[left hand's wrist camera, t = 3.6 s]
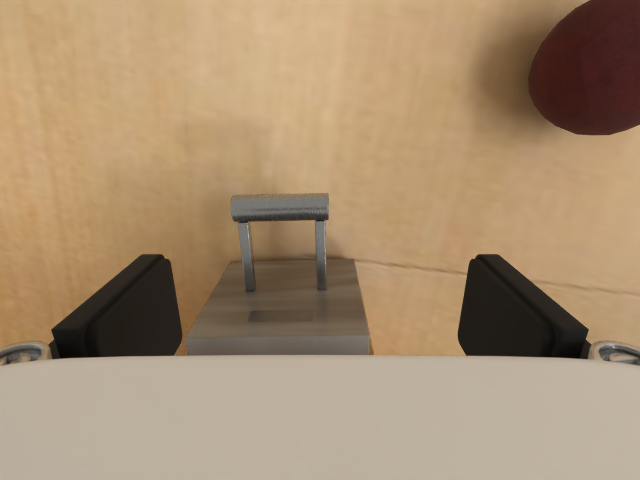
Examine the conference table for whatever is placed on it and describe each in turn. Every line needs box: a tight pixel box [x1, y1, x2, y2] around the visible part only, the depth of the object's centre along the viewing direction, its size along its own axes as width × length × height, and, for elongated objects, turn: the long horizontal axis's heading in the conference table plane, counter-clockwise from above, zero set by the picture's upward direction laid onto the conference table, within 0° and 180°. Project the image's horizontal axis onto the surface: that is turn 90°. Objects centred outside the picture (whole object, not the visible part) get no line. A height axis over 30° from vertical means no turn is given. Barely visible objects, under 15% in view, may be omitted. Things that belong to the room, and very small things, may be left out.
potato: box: [529, 0, 640, 135], centre depth 19 cm, size 7×8×7 cm
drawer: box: [185, 193, 370, 356], centre depth 24 cm, size 22×9×10 cm, turn 1°
